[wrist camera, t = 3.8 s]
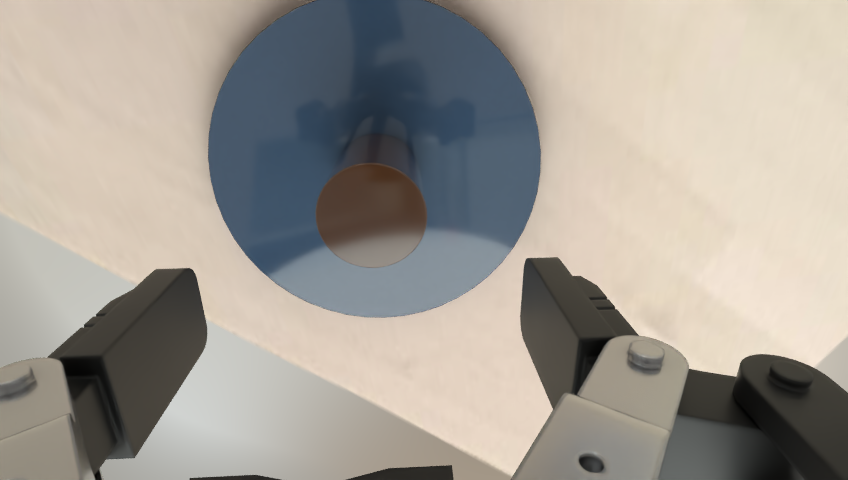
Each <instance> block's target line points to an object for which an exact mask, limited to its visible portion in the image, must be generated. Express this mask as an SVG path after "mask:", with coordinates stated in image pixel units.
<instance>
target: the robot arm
mask: <svg viewBox="0 0 848 480" xmlns="http://www.w3.org/2000/svg"><path fill="white" fill-rule="evenodd" d="M520 320H521V331H522V336H523V339H524V342H525V344H526V347H527V349H528V351H529V354H530V356H531V358H532V361H533V363H534V365H535V368H536V370H537V372H538V375H539V377H540V379H541V382H542V384H543V387H544V389H545V391H546V394H547V396H548V398H549V401H550V403H551V405H552V408H553V411H552V413H551V415H550V416H549V418H548V419H547V421H546V423H545V424H544V426H543V428H542V429H541V431H540V433H539V434H538V436H537V437H536V439H535V441H534V442H533V444H532V446H531V447H530V449H529V451H528V452H527V454H526V455H525V457H524V459H523V460H522V462H521V464H520V465H519V467H518V469H517V470H516V472H515V473H514V475H513V477H512V478H511V480H848V393H847V392H846V391H845V390H844V389H842V388H841V387H840V386H839V385H838V384H836V383H835V382H834V381H833V380H831V379H830V378H829V377H828V376H826V375H825V374H823V373H821V372H820V371H818V370H817V369H815V368H813V367H811V366H808V365H806V364H804V363H801V362H798V361H796V360H793V359H789V358H785V357H781V356H775V355H765V354H760V355H752V356H748V357H746V358H744V359H743V360H742V361H741V363H740V366H739V370H738V373H737V377H734V376H727V375H721V374H715V373H708V372H702V371H697V370H692V369H689V365H688V362H687V360H686V358H685V357H684V356H683V355H682V354H681V353H680V352H679V351H678V350H676V349H675V348H673V347H672V346H670V345H668V344H666V343H664V342H661V341H659V340H656V339H653V338H649V337H644V336H639V335H638V334H637V333H636V332H635V330H634V329H633V328H632V327H631V326H630V324H629V323H628V322H627V321H626V320H625V318H624V317H623V316H622V315H621V314H620V312H619V311H618V310H617V309H615V306H614V305H613V304H612V303H611V302H610V300H607V297H606V296H605V294H604V293H603V292H602V291H601V290H600V288H599V287H598V286H597V285H595V284H593V283H592V282H590V281H588V280H587V279H585V278H583V277H581V276H572V275H571V274H570V272H569V271H568V270H567V268H566V267H565V266H564V264H563V263H562V262H561V260H560V259H559V258H557V257H554V258H527V259H526V261H525V265H524V274H523V287H522V301H521V315H520ZM206 341H207V325H206V320H205V315H204V310H203V306H202V301H201V296H200V291H199V287H198V282H197V278H196V275H195V273H194V271H193V270H192V269H190V268H180V269H156V270H154V271H153V272H152V273H151V274H150V275H149V276H148V277H146V278H145V279H144V280H143V281H142V282H141V283H140V284H139V285H138V286H137V287H135V288H134V289H133V290H131V291H129V292H128V293H126V294H124V295H122V296H120V297H118V298H116V299H114V300H112V301H111V302H109V303H108V304H107V305H106V306H105V307H104V308H103V309H102V310H100V311H99V312H98V313H97V314H96V317H92V318H91V319H90V320H89V321H88V322H87V323H86V324H85V325H84V328H80V329H79V330H78V331H77V332H76V333H74V334H73V335H72V336H71V337H70V338H69V339H67V340H66V341H65V342H64V343H63V344H62V345H61V346H60V347H59V348H57V349H56V350H55V351H54V352H53V353H52V354H51V355H49V356H48V357H47V358H33V359H27V360H23V361H19V362H15V363H12V364H9V365H6V366H3V367H1V368H0V480H104V479H103V476H102V473H101V470H100V467H101V465H102V464H103V463H104V461H105V460H106V459H123V458H135V456H136V455H137V453H138V452H139V450H140V449H141V447H142V446H143V444H144V442H145V441H146V439H147V438H148V436H149V435H150V433H151V432H152V430H153V428H154V427H155V425H156V424H157V422H158V421H159V419H160V417H161V416H162V414H163V413H164V411H165V410H166V408H167V407H168V405H169V403H170V402H171V401H172V399H173V397H174V396H175V394H176V393H177V391H178V390H179V388H180V387H181V385H182V383H183V382H184V380H185V379H186V377H187V375H188V374H189V372H190V371H191V369H192V368H193V366H194V365H195V363H196V362H197V360H198V359H199V357H200V355H201V354H202V352H203V350H204V348H205V345H206ZM190 480H280V479H274V478H269V477H264V476H258V475H244V476H224V477H203V478H190ZM347 480H453V472H452V465H450V466H430V467H409V468H388V469H385V470H381V471H377V472H373V473H370V474H366V475H362V476H358V477H355V478H351V479H347Z"/></svg>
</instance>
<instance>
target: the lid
mask: <svg viewBox="0 0 848 480" xmlns="http://www.w3.org/2000/svg"><path fill="white" fill-rule="evenodd" d="M208 160H209V169H210V177H211V182H212V186H213V190H214V194H215V198H216V201H217V204H218V206H219V209H220V212H221V214H222V217H223V219H224V221H225V223H226V225H227V227H228V228H229V230H230V232H231V234H232V236H233V237H234V239H235V240H236V242H237V243H238V245H239V246H240V247H241V249H242V250H243V251H244V253H245V254H246V255H247V257H248V258H249V259H250V260H251V261H252V262H253V263H254V264H255V265H256V266H257V267H258V268H259V269H260V270H261V271H262V272H263V273H264V274H265V275H267V276H268V277H269V278H270V279H271V280H272V281H274V282H275V283H276V284H278V285H279V286H281V287H282V288H284V289H285V290H287V291H288V292H290V293H291V294H293V295H295V296H297V297H299V298H301V299H303V300H305V301H307V302H309V303H311V304H313V305H316V306H319V307H321V308H324V309H327V310H330V311H334V312H338V313H342V314H346V315H353V316H361V317H384V318H385V317H396V316H405V315H410V314H415V313H419V312H423V311H426V310H429V309H432V308H435V307H438V306H441V305H443V304H445V303H448V302H450V301H452V300H454V299H456V298H458V297H460V296H461V295H463V294H465V293H466V292H468V291H469V290H471V289H473V288H474V287H475V286H477V285H478V284H479V283H480V282H482V281H483V280H484V279H485V278H487V277H488V276H489V275H490V274H491V273H492V272H493V271H494V270H495V269H496V268H497V267H498V266H499V265H500V264H501V263H502V262H503V260H504V259H505V258H506V256H507V255H508V254H509V253H510V251H511V250H512V249H513V247H514V246H515V244H516V242H517V241H518V239H519V237H520V236H521V234H522V232H523V230H524V228H525V226H526V224H527V221H528V219H529V217H530V214H531V212H532V209H533V205H534V202H535V198H536V195H537V190H538V184H539V177H540V160H541V149H540V140H539V132H538V126H537V123H536V119H535V115H534V111H533V107H532V105H531V102H530V100H529V97H528V95H527V92H526V90H525V87H524V86H523V84H522V82H521V80H520V79H519V77H518V75H517V73H516V72H515V70H514V68H513V67H512V65H511V64H510V63H509V61H508V60H507V59H506V57H505V56H504V55H503V54H502V52H501V51H500V50H499V49H498V48H497V47H496V46H495V45H494V44H493V43H492V42H491V41H490V40H489V39H488V38H487V37H486V36H485V35H484V34H483V33H482V32H481V31H480V30H478V29H477V28H476V27H474V26H473V25H471V24H470V23H469V22H467V21H466V20H465V19H463V18H462V17H460V16H458V15H456V14H454V13H453V12H451V11H449V10H447V9H445V8H443V7H442V6H439V5H436V4H434V3H431V2H428V1H426V0H315V1H313V2H310V3H308V4H305V5H303V6H300V7H298V8H296V9H294V10H292V11H291V12H289V13H287V14H285V15H284V16H282V17H280V18H279V19H277V20H276V21H274V22H273V23H272V24H271V25H269V26H268V27H267V28H266V29H264V30H263V31H262V32H261V33H259V34H258V35H257V36H256V37H255V38H254V40H253V41H252V42H251V43H250V44H249V45H248V46H247V47H246V48H245V49H244V50H243V51H242V53H241V54H240V56H239V57H238V59H237V60H236V62H235V63H234V65H233V66H232V68H231V69H230V70H229V72H228V74H227V76H226V78H225V81H224V83H223V85H222V87H221V89H220V91H219V94H218V97H217V100H216V103H215V106H214V110H213V113H212V118H211V124H210V131H209V144H208Z"/></svg>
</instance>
